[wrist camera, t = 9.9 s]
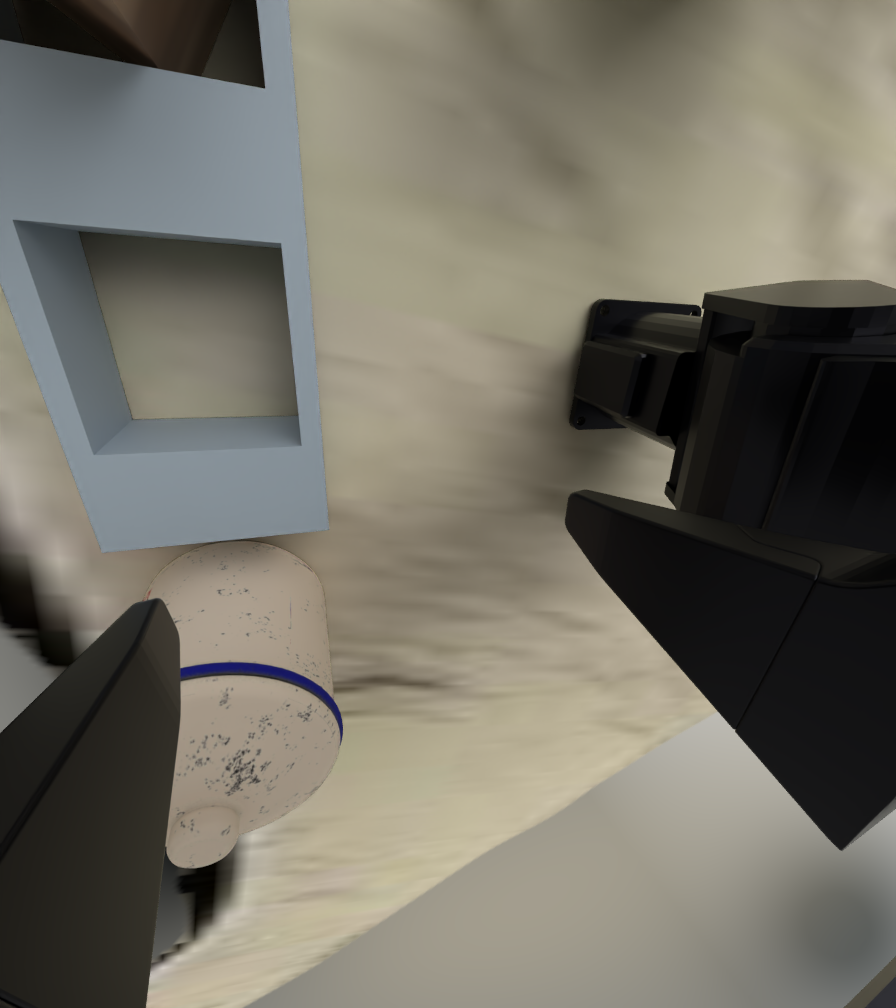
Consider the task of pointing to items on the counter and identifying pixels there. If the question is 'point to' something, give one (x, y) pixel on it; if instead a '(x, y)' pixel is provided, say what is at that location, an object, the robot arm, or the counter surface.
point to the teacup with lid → (246, 693)
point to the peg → (152, 29)
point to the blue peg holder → (159, 214)
